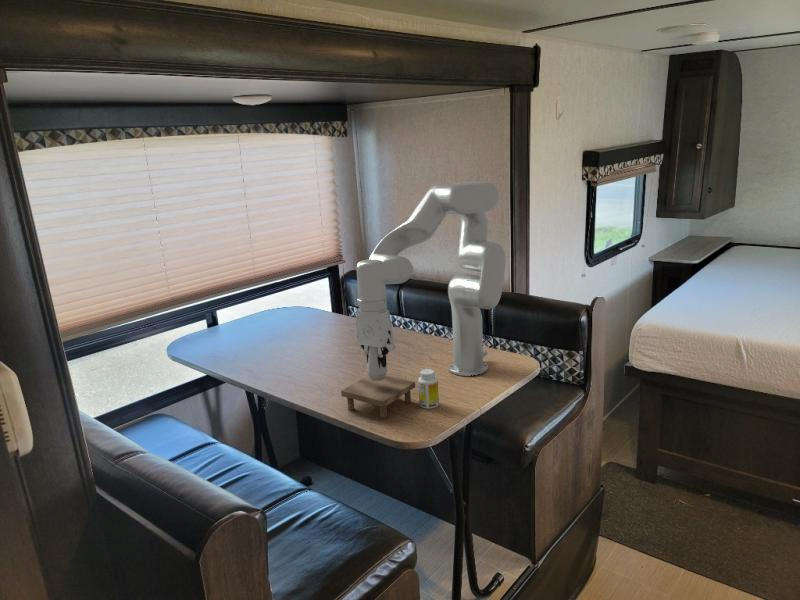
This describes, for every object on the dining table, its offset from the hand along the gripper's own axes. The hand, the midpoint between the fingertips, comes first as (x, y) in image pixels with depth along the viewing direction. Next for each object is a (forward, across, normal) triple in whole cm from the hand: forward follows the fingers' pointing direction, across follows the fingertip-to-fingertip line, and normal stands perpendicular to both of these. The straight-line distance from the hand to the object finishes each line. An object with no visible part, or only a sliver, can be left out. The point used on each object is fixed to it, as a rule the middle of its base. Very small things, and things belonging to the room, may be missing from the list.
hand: (377, 367), depth 161 cm
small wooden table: (+12, 0, 0) cm, 12 cm away
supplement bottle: (+12, +12, +7) cm, 19 cm away
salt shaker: (+3, 0, 0) cm, 3 cm away
